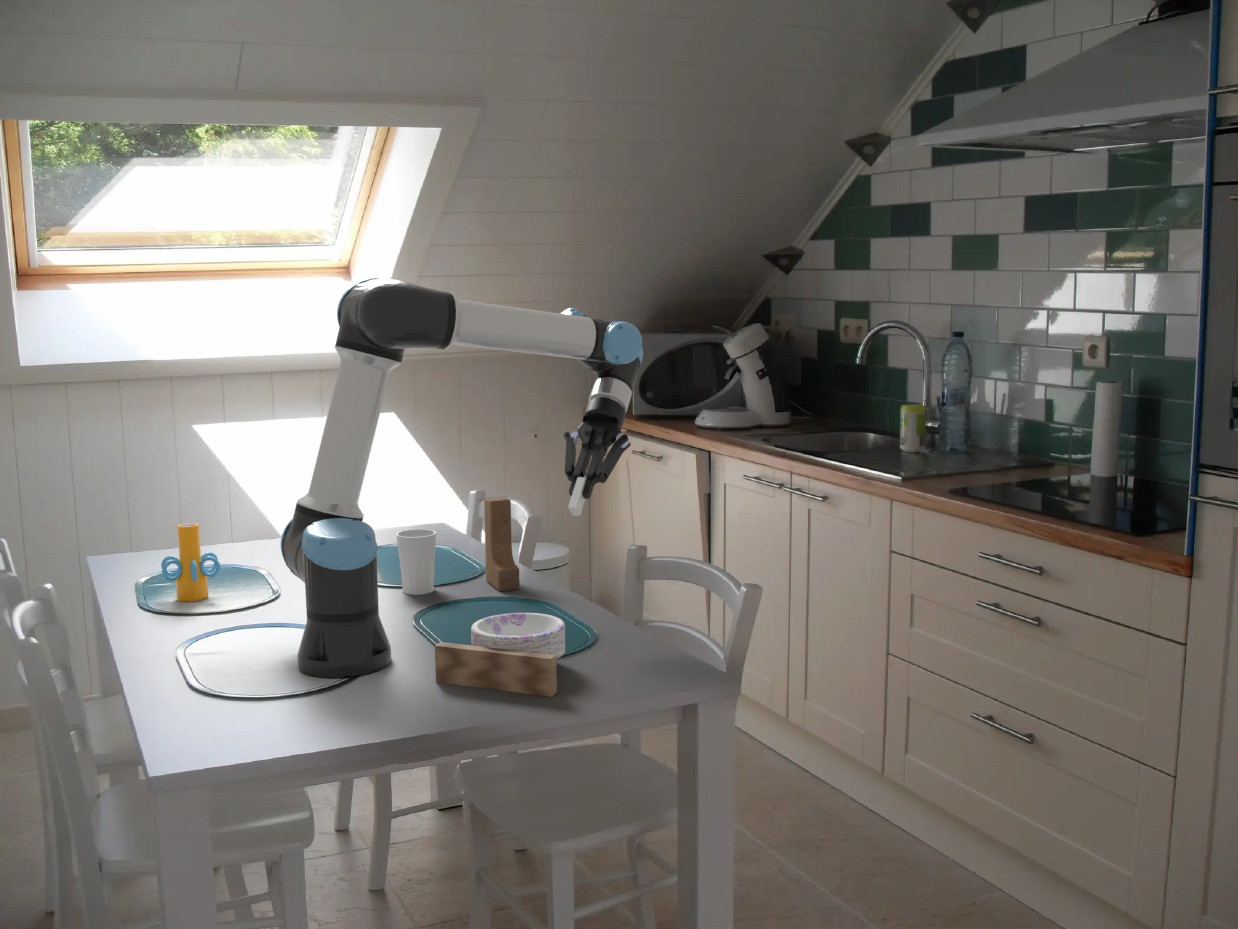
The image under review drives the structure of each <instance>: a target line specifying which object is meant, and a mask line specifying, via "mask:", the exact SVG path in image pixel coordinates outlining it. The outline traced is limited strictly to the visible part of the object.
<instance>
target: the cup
mask: <svg viewBox="0 0 1238 929" xmlns="http://www.w3.org/2000/svg"><path fill="white" fill-rule="evenodd" d="M436 540H437V532H436V531H435V530H433V529H428V528H426V529H425V528H413V529H405V530H404V529H403V530H401V531H397V533H396V544H397V550H398V556H399V558H398V559H399V567H400V577H401V585H402V593H403V594H405V595H410V596H411V595H413V596H418V595H419V596H420V595H426V594H430V593H433V592H434V591H435V586H434V581H435V580H434V579H435V559H436V544H437V542H436Z"/></svg>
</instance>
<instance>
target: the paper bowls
mask: <svg viewBox="0 0 1238 929" xmlns="http://www.w3.org/2000/svg"><path fill="white" fill-rule="evenodd" d="M470 632H471V638H470V641H471V642H470V643H471V645H472V646H481V647H489V648H498V649H507V650H516V651H524V652H533V653H542V654H551V655H556V660H557V659H560V658H561V657H562V656H564V654H565V652H566V624H565V622H564V621H563V619H561V618H559V617H556V616H555V615H551V614H545V613H538V612H534V613H533V612H511V613H503V614H495V615H491V616H490V615H489V616H487V617H484V618H481V619H478V620H477V621H474V622H473V624H472V625H471V627H470Z"/></svg>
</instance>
